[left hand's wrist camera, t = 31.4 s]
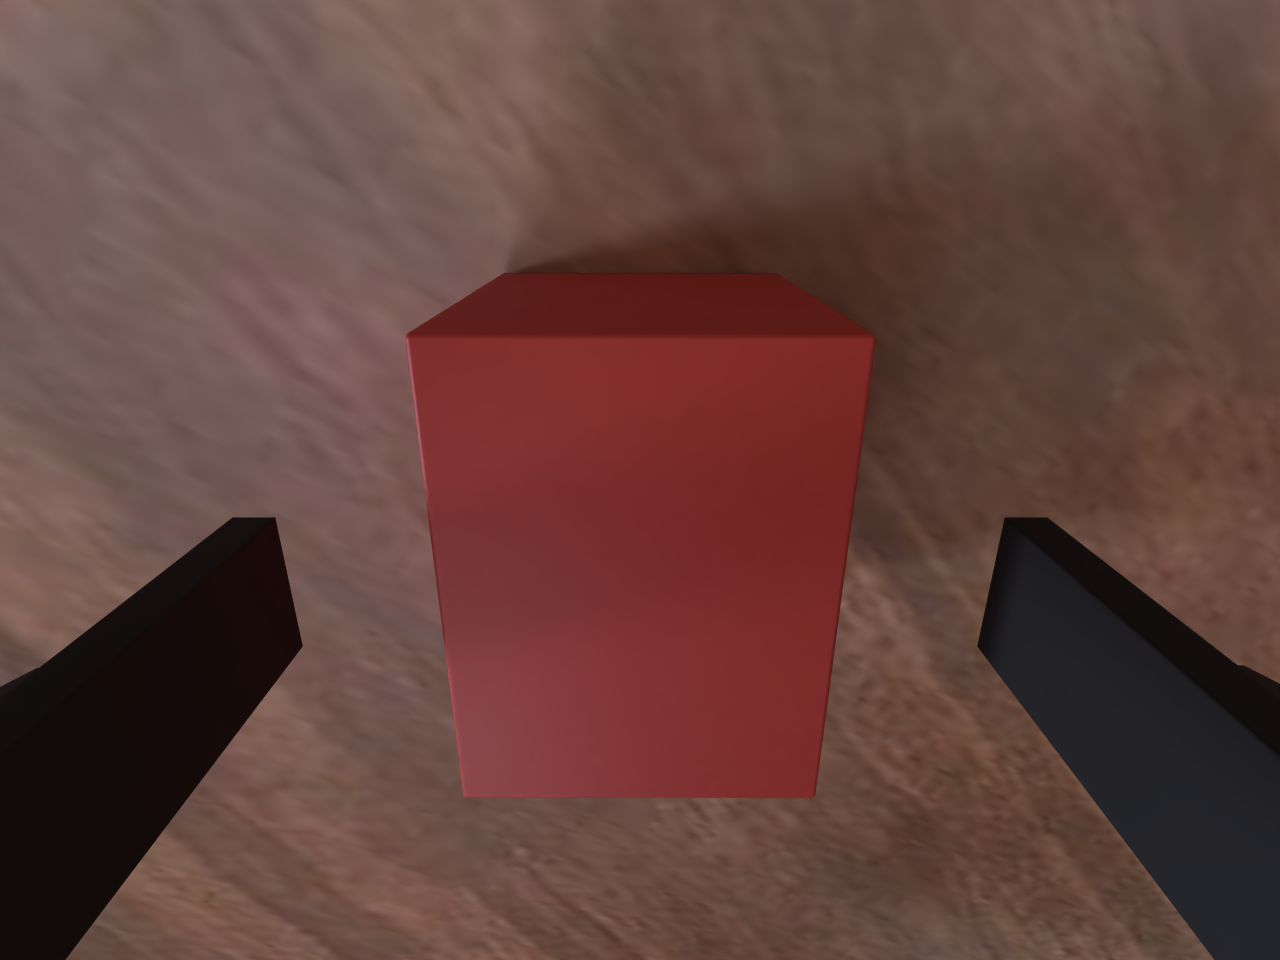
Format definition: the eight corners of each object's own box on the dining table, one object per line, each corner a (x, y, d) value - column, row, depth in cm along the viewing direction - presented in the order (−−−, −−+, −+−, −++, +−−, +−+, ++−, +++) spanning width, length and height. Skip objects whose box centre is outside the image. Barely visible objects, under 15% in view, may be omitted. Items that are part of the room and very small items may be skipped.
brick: (502, 272, 17) (403, 333, 10) (778, 273, 17) (878, 334, 10) (524, 586, 20) (462, 799, 13) (754, 587, 20) (816, 800, 13)
